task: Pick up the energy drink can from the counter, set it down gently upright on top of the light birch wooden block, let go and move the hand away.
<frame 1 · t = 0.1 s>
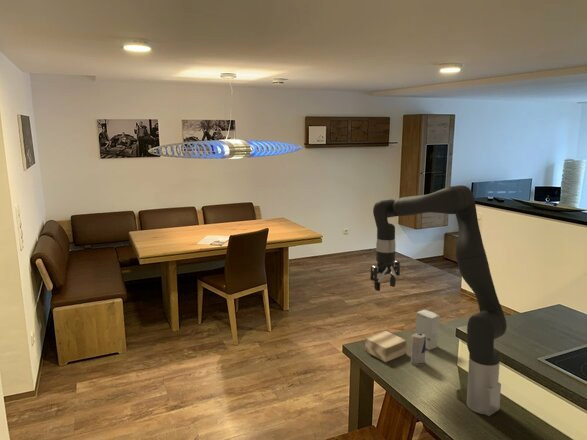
hand: (385, 288, 179), 29 cm above the table, tool pointing down, fingers open, 8 cm apart
energy drink: (417, 363, 177), on the table
birch block: (385, 352, 186), on the table
skincare box: (426, 345, 192), on the table
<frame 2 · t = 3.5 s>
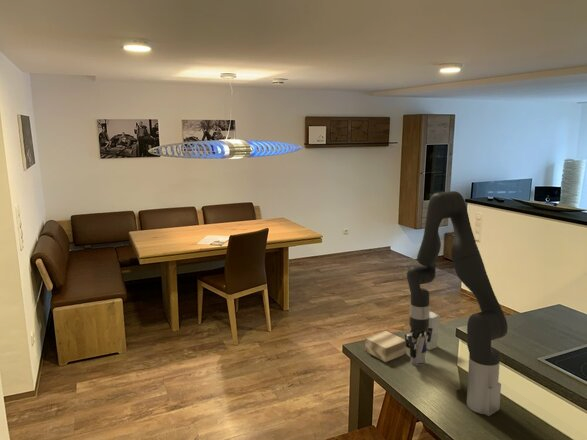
hand: (418, 354, 176), 3 cm above the table, tool pointing down, fingers closed on energy drink, 5 cm apart
energy drink: (417, 363, 177), on the table, touching gripper
everything else where it was.
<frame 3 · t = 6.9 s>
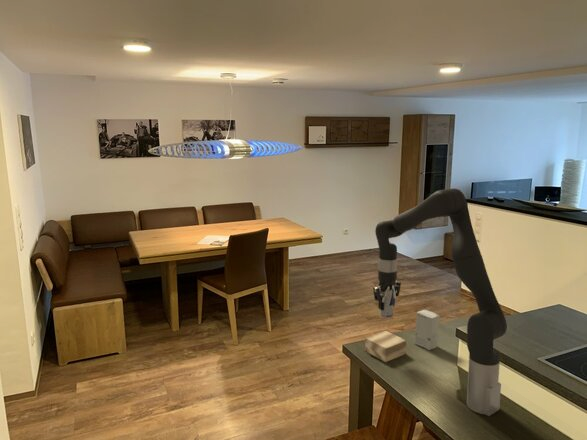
hand: (386, 308, 182), 20 cm above the table, tool pointing down, fingers closed on energy drink, 5 cm apart
energy drink: (386, 316, 183), point 16 cm above the table, touching gripper
everything else where it was.
when the fingers open (10 cm above the table, at t = 10.4 s): energy drink stays where it is, resting on birch block.
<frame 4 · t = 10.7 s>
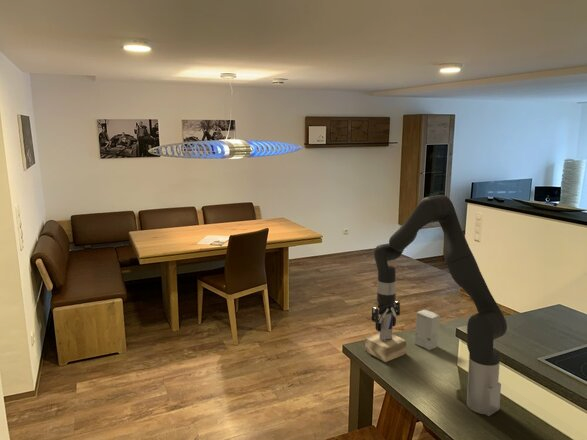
hand: (385, 328, 184), 11 cm above the table, tool pointing down, fingers open, 8 cm apart
energy drink: (385, 339, 185), point 6 cm above the table, touching birch block
everything else where it was.
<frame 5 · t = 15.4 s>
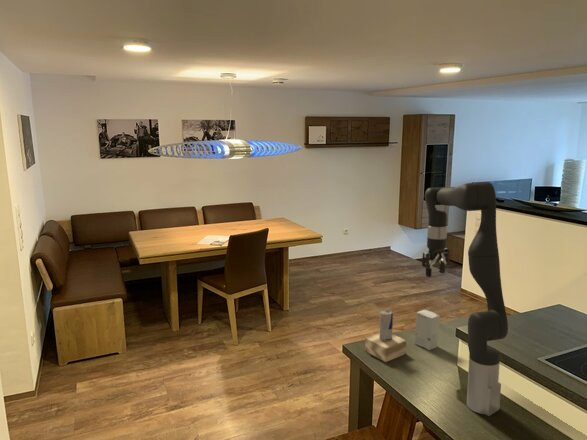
hand: (435, 274, 182), 33 cm above the table, tool pointing down, fingers open, 8 cm apart
nothing on the table moved.
at the end: energy drink inside the target area on the birch block (0.1 cm from its centre), point 5.8 cm above the birch block's base; energy drink tilted 0°; the gripper is holding nothing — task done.
